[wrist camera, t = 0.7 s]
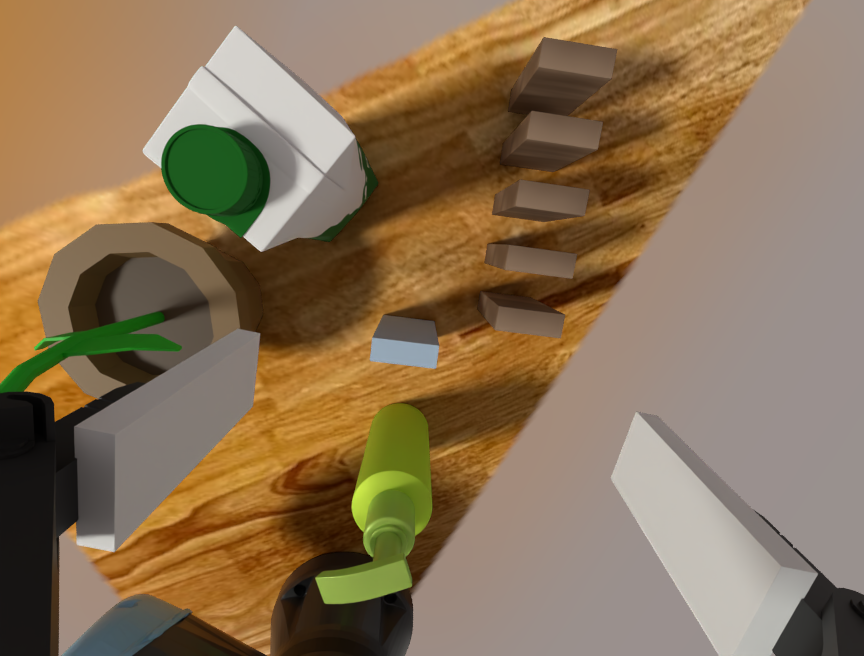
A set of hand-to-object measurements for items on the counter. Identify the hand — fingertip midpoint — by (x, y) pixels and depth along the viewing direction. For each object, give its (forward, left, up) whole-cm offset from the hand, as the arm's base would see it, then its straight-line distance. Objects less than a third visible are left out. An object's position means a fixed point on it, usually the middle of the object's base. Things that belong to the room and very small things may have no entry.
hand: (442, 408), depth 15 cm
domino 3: (+14, -7, -27) cm, 32 cm away
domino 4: (+10, -7, -27) cm, 30 cm away
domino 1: (-3, +2, -27) cm, 28 cm away
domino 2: (+19, -7, -27) cm, 34 cm away
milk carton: (+9, +11, -28) cm, 31 cm away
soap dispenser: (-14, +2, -28) cm, 31 cm away
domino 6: (+1, -7, -27) cm, 28 cm away
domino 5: (+5, -7, -27) cm, 29 cm away
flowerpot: (-3, +21, -28) cm, 34 cm away
